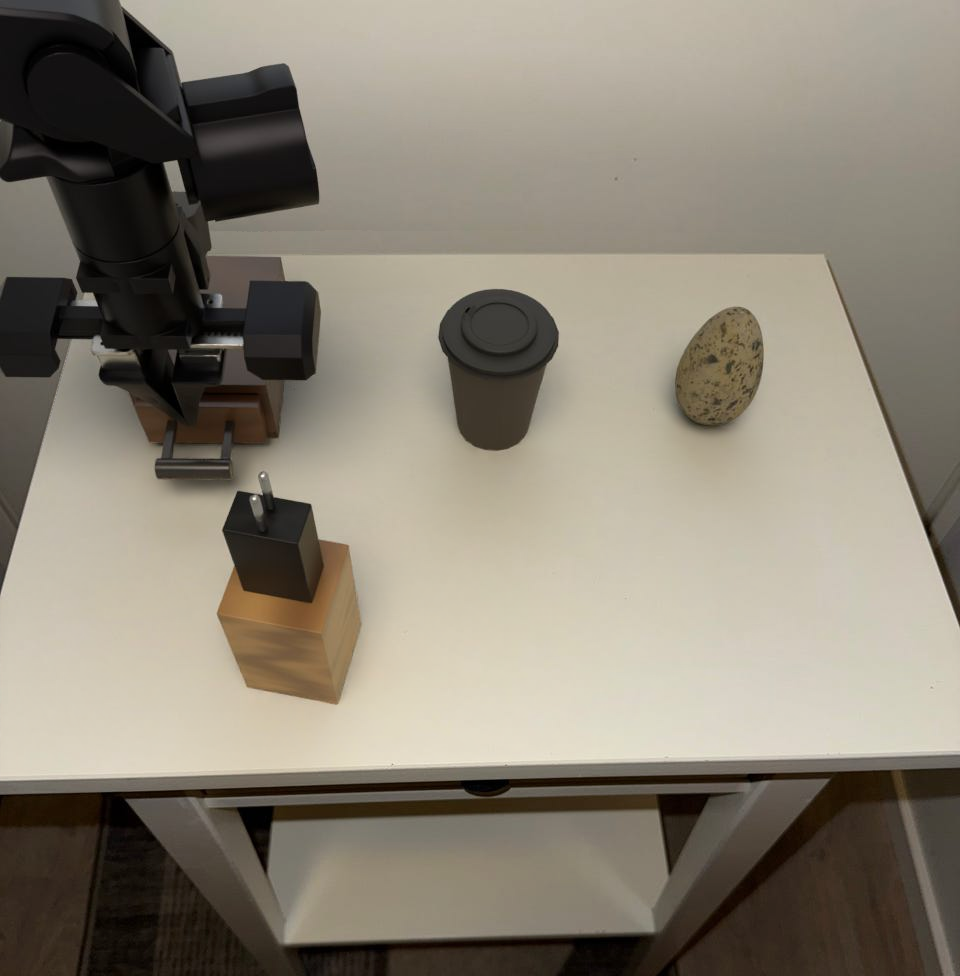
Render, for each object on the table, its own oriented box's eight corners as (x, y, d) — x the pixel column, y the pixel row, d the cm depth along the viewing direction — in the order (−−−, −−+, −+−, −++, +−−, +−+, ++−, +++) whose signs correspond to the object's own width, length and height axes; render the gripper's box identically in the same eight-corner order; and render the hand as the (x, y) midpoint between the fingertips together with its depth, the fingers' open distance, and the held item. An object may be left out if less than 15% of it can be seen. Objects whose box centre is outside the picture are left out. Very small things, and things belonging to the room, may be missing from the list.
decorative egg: (659, 385, 76) (687, 282, 67) (734, 381, 76) (772, 278, 67) (674, 446, 73) (706, 347, 64) (752, 441, 73) (794, 342, 64)
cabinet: (278, 438, 72) (266, 385, 67) (146, 437, 72) (124, 384, 67) (291, 313, 78) (281, 256, 73) (169, 312, 78) (150, 254, 73)
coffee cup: (435, 383, 75) (433, 279, 66) (540, 378, 76) (553, 275, 67) (442, 468, 71) (442, 370, 62) (553, 462, 72) (568, 364, 63)
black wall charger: (242, 591, 55) (210, 498, 47) (256, 553, 56) (226, 457, 48) (312, 604, 55) (290, 513, 47) (324, 565, 56) (305, 471, 48)
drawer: (261, 496, 68) (251, 462, 65) (139, 496, 68) (123, 461, 65) (279, 326, 76) (272, 288, 73) (170, 325, 76) (157, 286, 72)
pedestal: (246, 687, 63) (215, 613, 54) (273, 607, 65) (248, 525, 57) (338, 705, 62) (321, 633, 54) (361, 623, 65) (349, 544, 57)
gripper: (311, 132, 56) (337, 334, 70) (-20, 125, 56) (72, 331, 69) (297, 269, 51) (328, 458, 65) (-69, 263, 50) (41, 456, 64)
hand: (191, 421), depth 66 cm, fingers closed
